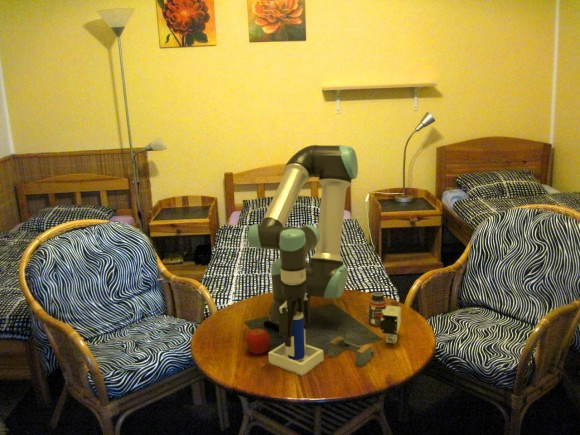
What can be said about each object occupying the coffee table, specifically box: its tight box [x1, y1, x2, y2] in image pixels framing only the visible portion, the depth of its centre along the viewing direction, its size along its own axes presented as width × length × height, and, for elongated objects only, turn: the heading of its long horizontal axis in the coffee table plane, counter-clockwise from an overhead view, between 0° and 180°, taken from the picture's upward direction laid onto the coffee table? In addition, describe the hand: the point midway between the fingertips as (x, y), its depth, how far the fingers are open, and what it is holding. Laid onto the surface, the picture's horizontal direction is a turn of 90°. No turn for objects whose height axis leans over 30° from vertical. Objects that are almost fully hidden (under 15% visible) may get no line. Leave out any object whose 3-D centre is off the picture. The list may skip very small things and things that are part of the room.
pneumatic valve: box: [379, 304, 402, 344], centre depth 180 cm, size 6×12×12 cm, turn 161°
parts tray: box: [267, 342, 324, 377], centre depth 170 cm, size 13×11×4 cm
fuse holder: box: [328, 335, 376, 368], centre depth 172 cm, size 12×8×5 cm, turn 51°
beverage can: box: [288, 311, 305, 361], centre depth 168 cm, size 5×5×15 cm
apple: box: [245, 328, 271, 355], centre depth 176 cm, size 8×8×8 cm
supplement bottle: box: [368, 291, 387, 327], centre depth 193 cm, size 6×6×11 cm
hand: (295, 350), depth 169 cm, fingers closed on beverage can, 5 cm apart
